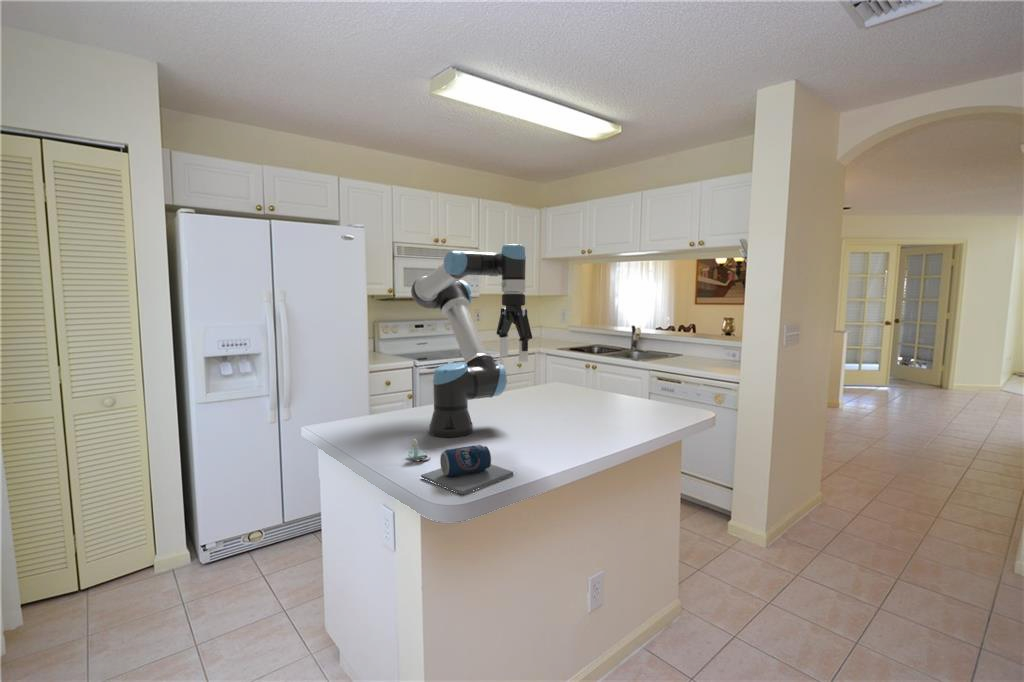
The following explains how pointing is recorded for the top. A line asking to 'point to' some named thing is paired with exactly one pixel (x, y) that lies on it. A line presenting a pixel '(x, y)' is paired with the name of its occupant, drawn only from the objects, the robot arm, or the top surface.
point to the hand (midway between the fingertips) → (513, 359)
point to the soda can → (465, 460)
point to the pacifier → (417, 452)
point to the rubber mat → (468, 479)
